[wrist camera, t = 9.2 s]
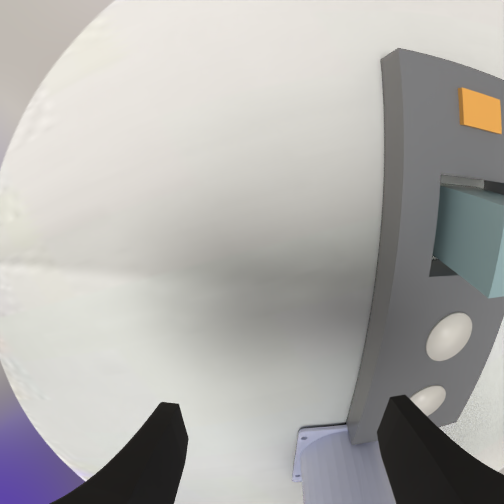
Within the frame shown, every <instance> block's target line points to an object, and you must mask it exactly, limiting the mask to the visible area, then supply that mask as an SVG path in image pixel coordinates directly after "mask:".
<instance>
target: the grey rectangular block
mask: <svg viewBox="0 0 504 504" xmlns="http://www.w3.org/2000/svg"><path fill="white" fill-rule="evenodd" d="M433 256H435V257H436V258H437V259H439V260H440V261H441V262H443V263H444V264H445V265H447V266H448V267H449V268H451V269H452V270H453V271H455V272H456V273H457V274H458V275H460V276H461V277H462V278H464V279H465V280H466V281H467V282H469V283H470V284H471V285H472V286H474V287H475V288H476V289H477V290H479V291H480V292H481V293H482V294H483V295H485V296H486V297H487V298H488V299H489V298H496V297H502V296H504V195H502V194H498V193H495V192H492V191H488V190H485V189H481V188H478V187H471V186H462V185H452V184H441V183H440V195H439V207H438V217H437V226H436V234H435V242H434V249H433Z"/></svg>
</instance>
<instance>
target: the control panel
mask: <svg viewBox="0 0 504 504" xmlns="http://www.w3.org/2000/svg"><path fill="white" fill-rule="evenodd" d="M381 68H382V81H383V98H384V129H385V161H384V192H383V210H382V224H381V236H380V246H379V256H378V265H377V273H376V281H375V288H374V295H373V301H372V308H371V314H370V320H369V326H368V331H367V336H366V342H365V347H364V352H363V357H362V361H361V366H360V370H359V375H358V379H357V383H356V387H355V392H354V396H353V399H352V403H351V407H350V411H349V414H348V418H347V422H346V424H347V428H348V432H349V436H350V440H351V444H352V445H355V444H362V443H368V442H375V441H378V437H377V430H378V428H379V425H380V423H381V420H382V417H383V415H384V412H385V409H386V407H387V404H388V401H389V398H390V397H393V396H399V395H406V396H407V397H408V398H409V399H410V400H411V401H412V402H413V403H414V404H415V405H416V406H417V407H418V408H419V409H420V410H421V411H422V412H423V413H424V414H425V415H426V416H427V417H428V418H429V419H430V420H431V421H432V422H433V423H434V424H435V425H436V426H437V427H441V426H444V425H448V424H451V423H454V422H456V421H457V420H458V418H459V416H460V414H461V412H462V411H463V409H464V407H465V405H466V403H467V401H468V399H469V397H470V396H471V394H472V392H473V390H474V388H475V385H476V383H477V381H478V379H479V377H480V375H481V373H482V370H483V368H484V366H485V364H486V361H487V359H488V357H489V354H490V352H491V349H492V347H493V344H494V342H495V339H496V336H497V334H498V331H499V328H500V325H501V322H502V319H503V316H504V296H502V297H496V298H489V299H488V298H487V297H486V296H485V295H483V294H482V293H481V292H480V291H479V290H477V289H476V288H475V287H474V286H472V285H471V284H470V283H469V282H467V281H466V280H465V279H464V278H462V277H461V276H460V275H458V274H457V273H456V272H455V271H453V270H452V269H451V268H449V267H448V266H447V265H445V264H444V263H443V262H441V261H440V260H432V255H433V249H434V242H435V234H436V226H437V217H438V207H439V195H440V180H441V175H449V176H458V177H466V178H473V179H480V180H485V190H488V191H492V192H495V193H498V194H502V195H504V80H502V79H500V78H497V77H495V76H492V75H490V74H487V73H484V72H482V71H479V70H476V69H473V68H471V67H468V66H465V65H462V64H458V63H455V62H452V61H449V60H445V59H442V58H438V57H435V56H431V55H427V54H423V53H419V52H415V51H410V50H406V49H401V48H397V49H396V50H394V51H393V52H391V53H390V54H388V55H387V56H386V57H384V58H383V59H381Z"/></svg>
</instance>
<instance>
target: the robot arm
mask: <svg viewBox="0 0 504 504" xmlns="http://www.w3.org/2000/svg"><path fill="white" fill-rule="evenodd" d="M377 437H378V441H375V442H368V443H362V444H355V445H352V444H351V440H350V436H349V432H348V428H347V425H339V426H328V427H316V428H304V429H301V430H299V432H298V439H297V446H296V453H295V460H294V467H293V473H292V481H293V482H302V488H303V501H304V504H504V475H503V474H501V473H499V472H497V471H495V470H493V469H492V468H490V467H488V466H487V465H485V464H483V463H482V462H480V461H479V460H477V459H476V458H474V457H473V456H471V455H470V454H469V453H467V452H466V451H465V450H464V449H462V448H461V447H460V446H459V445H457V444H456V443H455V442H454V441H453V440H452V439H450V438H449V437H448V436H447V435H446V434H445V433H444V432H443V431H442V430H441V429H439V428H438V427H437V426H436V425H435V424H434V423H433V422H432V421H431V420H430V419H429V418H428V417H427V416H426V415H425V414H424V413H423V412H422V411H421V410H420V409H419V408H418V407H417V406H416V405H415V404H414V403H413V402H412V401H411V400H410V399H409V398H408V397H407V396H406V395H399V396H393V397H390V398H389V401H388V404H387V407H386V409H385V412H384V415H383V417H382V420H381V423H380V425H379V428H378V430H377ZM187 445H188V435H187V432H186V428H185V425H184V421H183V418H182V414H181V410H180V407H179V404H176V403H166V402H161V403H160V404H159V405H158V407H157V408H156V409H155V410H154V412H153V413H152V414H151V416H150V417H149V418H148V419H147V421H146V422H145V423H144V424H143V426H142V427H141V428H140V429H139V431H138V432H137V433H136V434H135V435H134V436H133V437H132V439H131V440H130V441H129V442H128V443H127V444H126V445H125V446H124V447H123V449H122V450H121V451H120V452H119V453H118V454H117V455H116V456H115V457H114V458H113V459H112V460H111V461H110V462H109V463H107V464H106V465H105V466H104V467H103V468H102V469H101V470H100V471H98V472H97V473H96V474H95V475H94V476H92V477H91V478H90V479H89V480H87V481H86V482H85V483H83V484H82V485H80V486H79V487H78V488H76V489H75V490H73V491H72V492H70V493H68V494H67V495H65V496H63V497H61V498H60V499H58V500H56V501H54V502H52V503H50V504H174V501H175V497H176V494H177V490H178V487H179V483H180V479H181V476H182V472H183V468H184V465H185V460H186V453H187Z"/></svg>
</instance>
